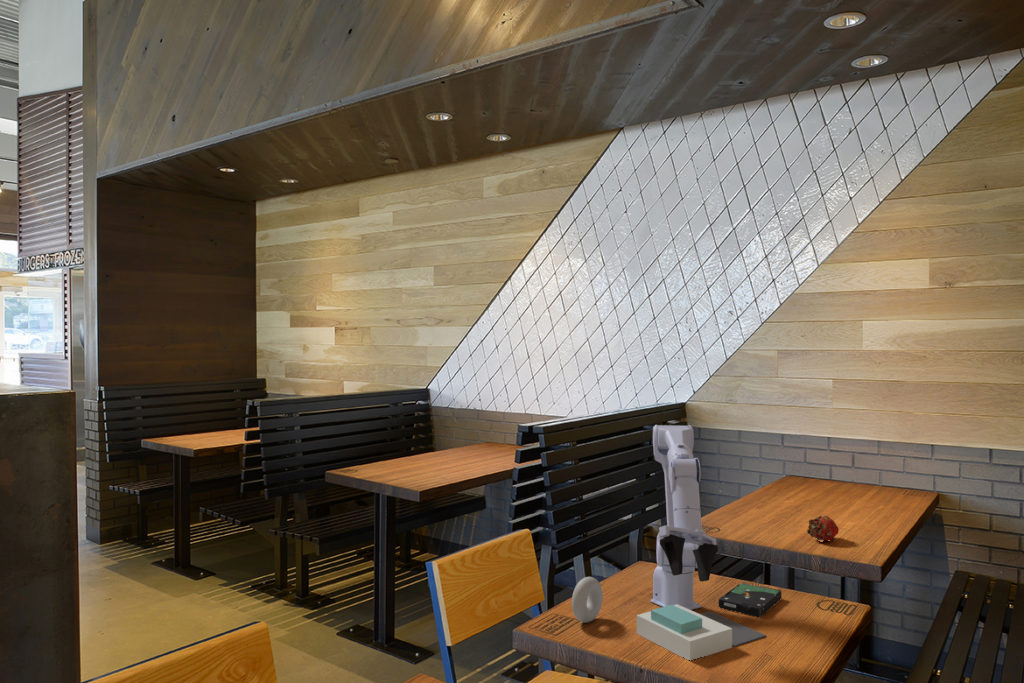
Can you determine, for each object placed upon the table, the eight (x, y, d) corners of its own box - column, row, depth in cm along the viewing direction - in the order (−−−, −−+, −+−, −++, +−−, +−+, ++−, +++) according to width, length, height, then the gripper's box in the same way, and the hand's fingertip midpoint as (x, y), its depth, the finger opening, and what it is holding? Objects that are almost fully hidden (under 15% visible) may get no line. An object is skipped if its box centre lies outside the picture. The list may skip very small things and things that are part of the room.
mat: (678, 621, 167) (678, 620, 167) (710, 612, 172) (710, 611, 172) (733, 647, 153) (733, 645, 153) (766, 636, 158) (766, 635, 158)
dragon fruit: (814, 550, 225) (825, 547, 234) (838, 537, 221) (849, 534, 230) (798, 524, 229) (810, 522, 238) (822, 511, 225) (833, 510, 234)
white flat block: (636, 633, 160) (636, 615, 160) (677, 621, 166) (677, 604, 166) (690, 661, 147) (689, 641, 146) (732, 647, 153) (732, 628, 153)
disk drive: (761, 620, 169) (782, 600, 180) (761, 608, 168) (782, 589, 180) (717, 610, 175) (740, 591, 187) (717, 598, 175) (740, 580, 186)
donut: (593, 613, 172) (593, 570, 172) (605, 616, 170) (605, 573, 170) (568, 626, 164) (568, 581, 164) (581, 630, 162) (581, 585, 162)
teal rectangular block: (650, 619, 158) (650, 610, 158) (671, 613, 161) (671, 604, 161) (681, 634, 150) (681, 624, 150) (702, 627, 153) (702, 618, 153)
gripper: (674, 501, 151) (678, 568, 144) (725, 515, 158) (730, 580, 151) (651, 508, 156) (654, 574, 150) (700, 522, 163) (705, 585, 156)
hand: (690, 577), depth 151 cm, fingers open, 7 cm apart
